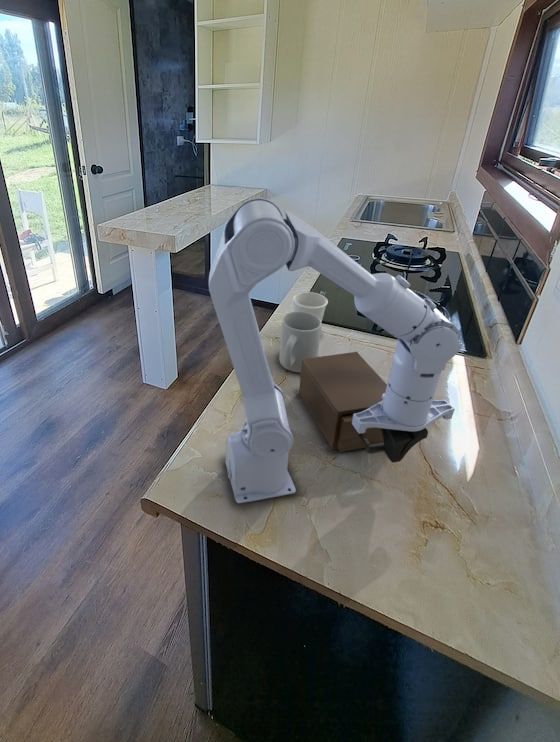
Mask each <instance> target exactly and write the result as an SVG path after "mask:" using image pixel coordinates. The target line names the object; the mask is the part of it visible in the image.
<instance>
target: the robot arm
mask: <svg viewBox="0 0 560 742" xmlns="http://www.w3.org/2000/svg"><path fill="white" fill-rule="evenodd" d="M283 212H284V213H285V218H283V217H284V216H283V213H282V210H281V209H280V208H279V206H278V205H277V204H276V203H275V202H273V201H272V200H270V199H268V198H265V197H252V198H250V199H247V200H245V201H243V202H242V203H241V204H240V205H239V206H238V207H237V208H236V210H234V212H233V213H232V214H231V216H230V217H229V218H228V219H227V220H226V222H225V224H224V226H223V230H222V235H221V238H220V242H219V245H218V246H217V250H216V253H215V256H214V258H213V262H212V265H211V267H210V270H209V274H208V291H209V294H210V298H211V300H212V301H211V302H212V304H213V307H214V311H215V313H216V317H217V320H218V323H219V326H220V329H221V332H222V335H223V338H224V342H225V344H226V349H227V352H228V354H229V357H230V360H231V364H232V367H233V370H234V374H235V376H236V379H237V382H238V385H239V389H240V392H241V395H242V399H243V404H244V410H245V421H244V423H243V426H242V428H241V429H240V430H238V431H237V432H234V433H232V434H230V435H227V436H226V437H225V439H226V440H225V461H224V463H225V466H226V472H227V478H228V479H229V482H230V485H231V489H232V492H233V496H234V500H235V502H236V503H237V504H246V503H251V502H256V501H261V500H267V499H272V498H277V497H282V496H288V495H294V494H296V492H297V489H296V486H295V484H294V482H293V479H292V477H291V475H290V473H289V471H288V465H289V455H290V450H291V449H292V447H293V445H294V436H293V433H292V431H291V428H290V422H289V419H288V414H287V408H286V404H285V395H284V392H283V390H282V389H281V387H279V385H277V384H276V383H275V381H274V378H273V375H272V372H271V369H270V366H269V361H268V359H267V355H266V351H265V347H264V344H263V340H262V336H261V333H260V329H259V324H258V321H257V318H256V313H255V310H254V307H253V303H252V299H251V296H250V292H251V291H252V290H253V289H254V287H256V285H257V284H259V283H260V282H262V281H263V280H265V279H267V278H268V277H270V276H271V275H273V274H275V273H276V272H278V271H280V270H281V269H282V268H283V267H285V266H286V268H287V270H288V271H289V272H294V271H297V270H300V269H304V268H307V267H309V268H311V269H312V270H314V271H316V272H317V273H319V274H320V275H322V276H323V277H325V278H327V279H328V280H330V281H331V282H333V283H334V284H336V285H337V286H339V287H340V288H341V289H344V290H345V291H347V292H348V293H350V294H351V295H353V297H354V298H353V299H354V307H355V309H356V310H357V311H358V312H359V313H361V315H363V316H364V317H366V318H367V319H369V320H370V321H372V322H373V323H374V324H376V325H377V326H379V327H380V328H382V330H384V331H386V332H387V333H388V334H390V335H391V336H393V337H394V338H396V339H397V340H396V345H395V348H394V354H393V358H392V361H391V365H390V366H391V367H390V370H389V375H388V380H387V383H386V384H387V388H386V392H385V393H383V395H382V399H383V400H382V401H381V402H379V403H377V404H375V405H373V406H372V407H370V408H368V409H366V410H364V411H362V412H360V413H355V414H353V419H352V425H353V426H354V428H355V429H356V430H357V432H358V433H359V434H361V433H365V431H366V429H368V428H374V427H375V428H381V431H382V435H383V440H384V449H385V451H384V454H385V455H386V457H387V458H388V459H389V460H390V462H391V463H398V462H401V461H402V460H403V459H404V457H405V456H406V455H407V454H408V452H409V451H410V450H411V449H412V448H413V447H414V446H415V445H416V444H418V443H419V442H421V441H423V440H425V439H427V438H428V434H429V430H428V429H427V428H428V427H429V426H431V425H432V424H434V423H435V422H436V421H438V420H440V419H441V418H443V419H444V420H451V419H452V418H453V415H454V413H455V410H456V409H455V407H453V405H452V404H450V403H449V402H448V401H447V400H446V399H434V397H435V395H436V391H437V387H438V385H439V381H440V378H441V374H442V371H445V369H446V366H447V364H448V362H449V361H450V360H451V359H452V358H454V357H455V356H456V355H457V354H458V353H459V352H460V351H461V349H462V348H463V345H464V344H463V343H462V342H461V340H460V336H461V335H460V334H459V332H460V331H459V329H458V327H457V326H455V324H454V323H453V322H451V320H449V318H447V317H446V316H445V315H444V314H443V313H442V312H441V311H440V310H439V309H438V308H437V305H436V304H435V303H434V302H433V301H432V300H431V299H429V298H428V297H427V298H422V297H421V296H419V295H418V294H417V293H416V292H414V291H413V290H411V289H410V287H411V283H409V281H408V280H406V279H405V278H404V277H403V276H402V275H400V274H398V275H396V276H395V277H394V276H393V275H391V274H390V273H387V272H379V273H378V272H377V273H370V272H369V271H368V270H366V269H365V268H364V267H363V266H362V265H360V264H359V263H358V262H357V261H355V259H353V258H351V257H350V256H349V255H348V254H347V253H345V251H343V250H342V249H341V248H340V247H338V246H337V245H335V243H333V242H332V241H331V240H330V239H329V238H327V237H326V236H324V235H323V234H322V233H321V232H320V231H319V230H317V229H316V228H315V227H313V226H312V225H310V224H308V223H307V222H306V221H304V220H303V219H302V218H299V217H298V216H297V215H295V214H293V213H292V212H290V211H288V210H286V209H283Z"/></svg>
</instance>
